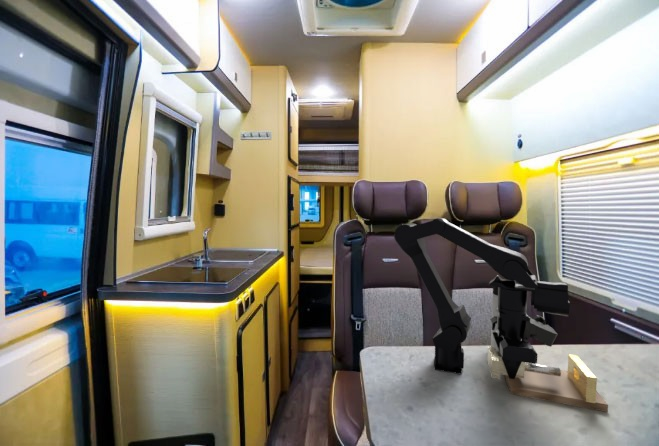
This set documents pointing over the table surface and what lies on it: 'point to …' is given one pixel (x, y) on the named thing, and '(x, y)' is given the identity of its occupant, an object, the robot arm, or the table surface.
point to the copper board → (552, 389)
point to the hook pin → (499, 367)
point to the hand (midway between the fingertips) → (509, 372)
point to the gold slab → (582, 378)
